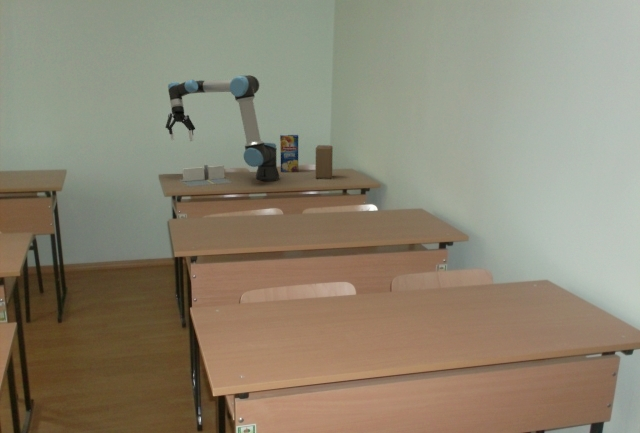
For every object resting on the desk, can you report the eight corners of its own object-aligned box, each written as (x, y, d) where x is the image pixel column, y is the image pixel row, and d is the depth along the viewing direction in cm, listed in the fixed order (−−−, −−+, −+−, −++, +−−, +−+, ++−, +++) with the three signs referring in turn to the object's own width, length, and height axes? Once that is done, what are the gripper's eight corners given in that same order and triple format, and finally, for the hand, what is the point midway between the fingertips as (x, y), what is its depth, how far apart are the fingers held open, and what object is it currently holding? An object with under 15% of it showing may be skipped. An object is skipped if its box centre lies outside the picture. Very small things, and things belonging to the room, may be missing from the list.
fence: (223, 177, 396) (223, 163, 394) (224, 178, 394) (224, 164, 392) (204, 179, 390) (203, 165, 388) (205, 180, 389) (204, 165, 386)
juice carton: (298, 170, 427) (298, 134, 421) (298, 172, 420) (298, 136, 414) (280, 170, 426) (280, 134, 420) (280, 172, 419) (280, 136, 413)
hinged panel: (203, 179, 390) (203, 167, 388) (204, 179, 389) (203, 167, 387) (183, 180, 384) (182, 168, 382) (183, 181, 383) (183, 169, 381)
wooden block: (332, 176, 407) (332, 145, 402) (331, 178, 397) (331, 147, 392) (317, 175, 408) (317, 145, 403) (315, 178, 398) (315, 147, 393)
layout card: (220, 177, 401) (220, 176, 401) (232, 183, 382) (232, 182, 382) (178, 180, 389) (178, 179, 389) (188, 187, 370) (188, 186, 370)
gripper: (190, 111, 402) (195, 142, 399) (156, 107, 384) (161, 140, 381) (197, 107, 397) (202, 139, 394) (163, 103, 379) (168, 136, 376)
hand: (182, 140), depth 387 cm, fingers open, 13 cm apart
